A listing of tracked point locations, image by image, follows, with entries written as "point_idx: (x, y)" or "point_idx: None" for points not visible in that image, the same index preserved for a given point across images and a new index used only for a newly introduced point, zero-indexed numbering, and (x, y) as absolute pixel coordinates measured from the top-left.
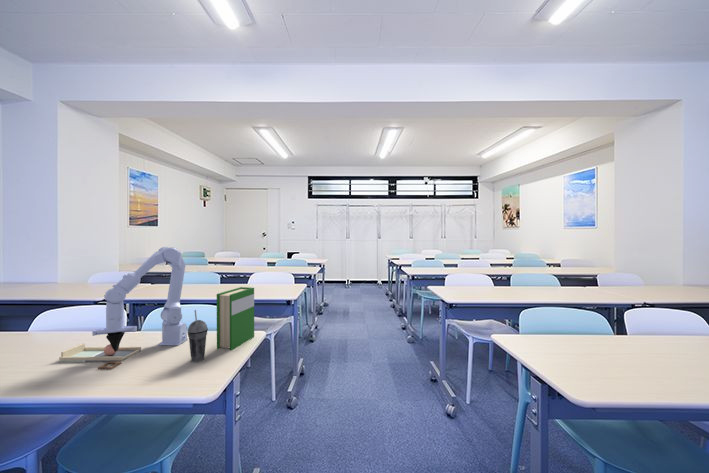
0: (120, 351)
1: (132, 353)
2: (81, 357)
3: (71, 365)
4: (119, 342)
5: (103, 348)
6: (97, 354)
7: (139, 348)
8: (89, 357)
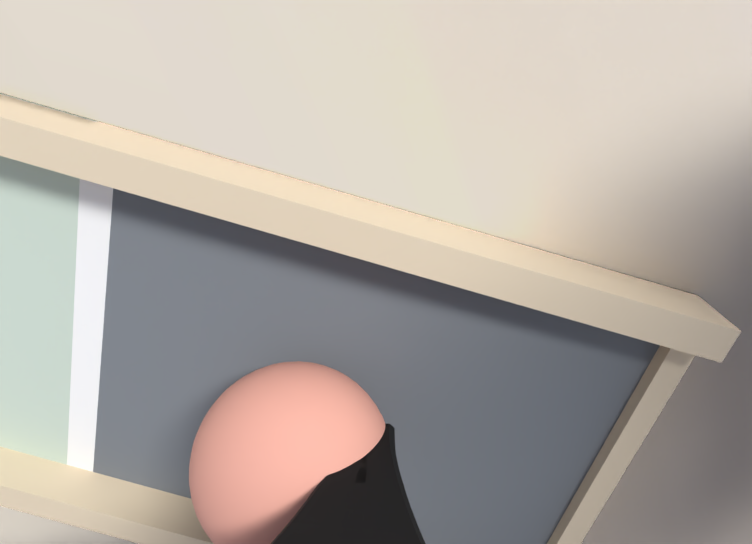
0: (389, 298)
1: (621, 472)
2: (20, 510)
3: (27, 520)
4: (405, 524)
5: (34, 158)
6: (98, 326)
7: (710, 351)
8: (127, 540)
